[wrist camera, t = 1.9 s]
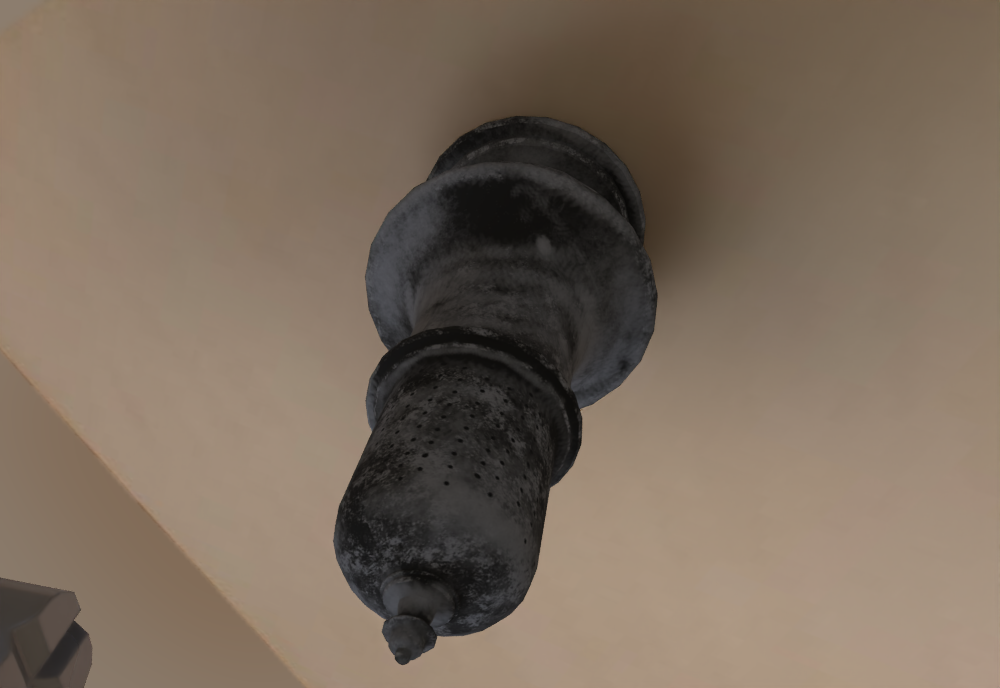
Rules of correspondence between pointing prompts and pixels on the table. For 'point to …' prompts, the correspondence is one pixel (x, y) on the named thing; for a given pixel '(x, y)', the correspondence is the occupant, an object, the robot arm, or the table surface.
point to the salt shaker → (488, 369)
